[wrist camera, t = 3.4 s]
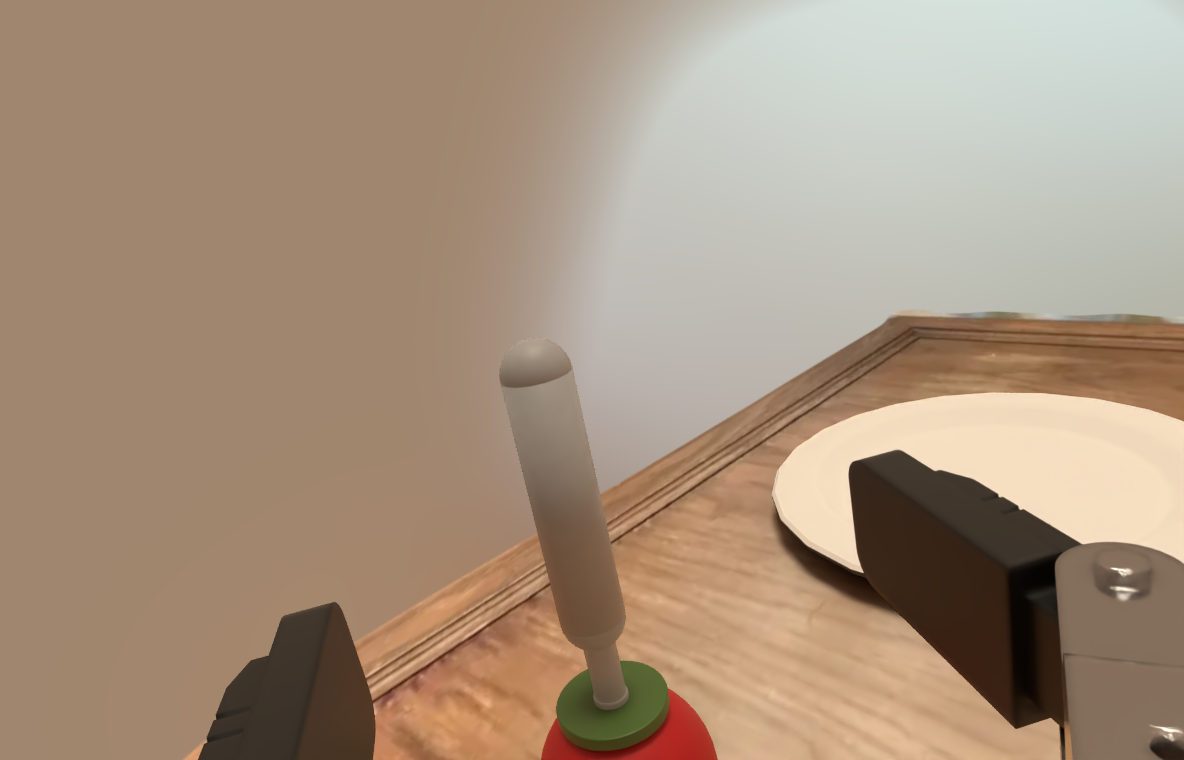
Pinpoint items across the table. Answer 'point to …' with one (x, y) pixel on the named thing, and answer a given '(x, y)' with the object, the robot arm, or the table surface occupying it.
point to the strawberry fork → (586, 578)
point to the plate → (1003, 466)
